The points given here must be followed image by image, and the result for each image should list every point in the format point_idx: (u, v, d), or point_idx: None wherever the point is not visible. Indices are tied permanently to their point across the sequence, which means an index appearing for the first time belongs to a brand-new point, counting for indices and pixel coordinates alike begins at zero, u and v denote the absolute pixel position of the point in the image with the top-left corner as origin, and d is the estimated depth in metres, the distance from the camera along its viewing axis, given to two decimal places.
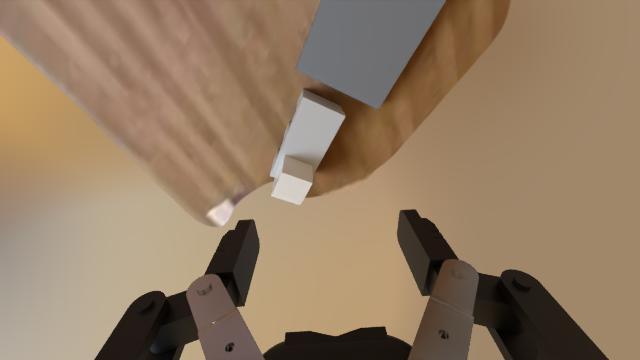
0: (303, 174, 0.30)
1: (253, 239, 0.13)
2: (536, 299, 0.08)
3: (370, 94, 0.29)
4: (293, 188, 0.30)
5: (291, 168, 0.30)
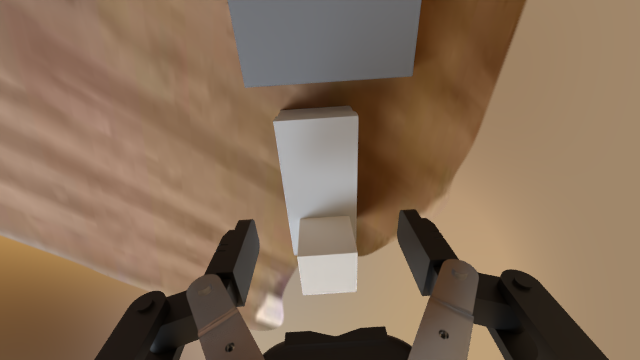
0: (336, 241, 0.17)
1: (253, 239, 0.13)
2: (536, 299, 0.08)
3: (384, 58, 0.15)
4: (330, 272, 0.17)
5: (313, 240, 0.17)
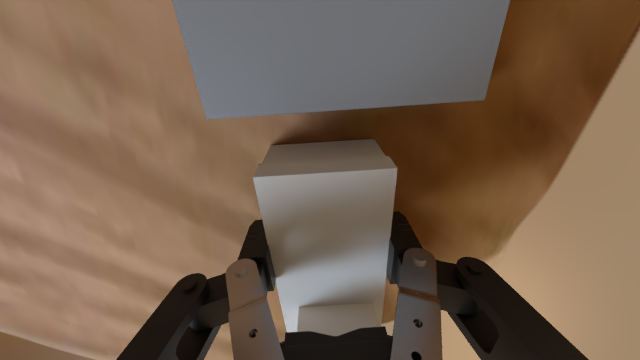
0: None
1: None
2: (489, 282, 0.08)
3: (441, 72, 0.09)
4: None
5: None
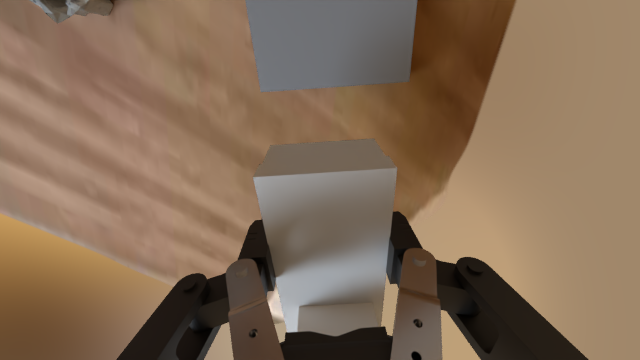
0: None
1: None
2: (489, 282, 0.08)
3: (384, 66, 0.17)
4: None
5: None
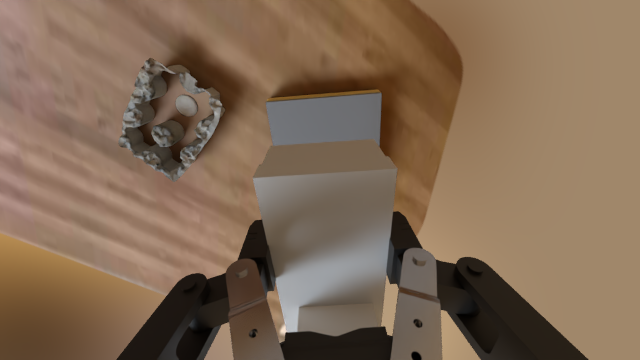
0: None
1: None
2: (488, 282, 0.08)
3: None
4: None
5: None
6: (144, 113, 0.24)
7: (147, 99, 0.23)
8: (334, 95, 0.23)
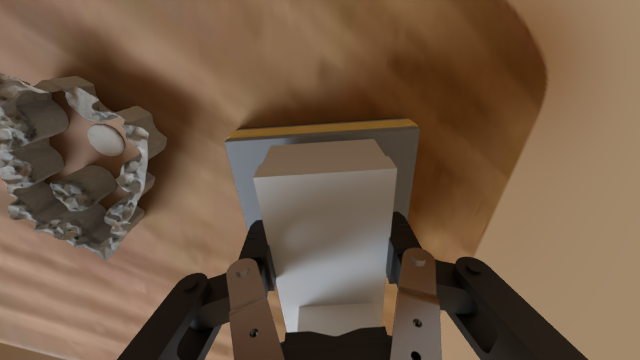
0: None
1: None
2: (488, 282, 0.08)
3: None
4: None
5: None
6: (35, 164, 0.15)
7: (24, 142, 0.13)
8: (340, 130, 0.14)
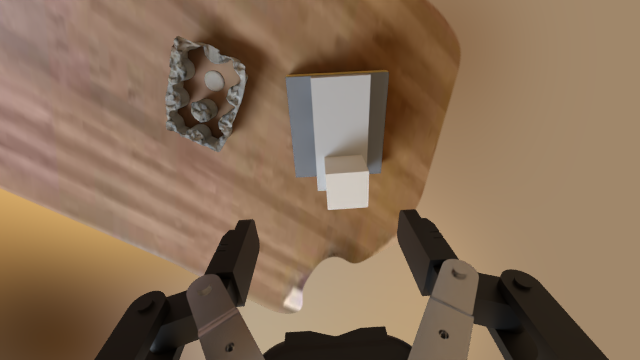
0: (352, 166, 0.23)
1: (253, 240, 0.13)
2: (536, 299, 0.08)
3: None
4: (348, 189, 0.23)
5: (336, 166, 0.23)
6: (181, 95, 0.27)
7: (181, 79, 0.26)
8: (346, 73, 0.26)
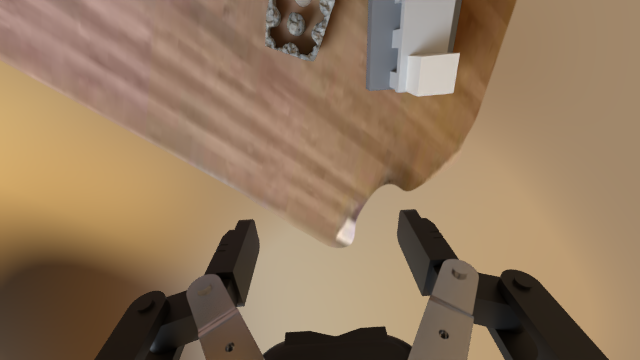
0: (441, 54, 0.26)
1: (253, 240, 0.13)
2: (536, 299, 0.08)
3: None
4: (439, 73, 0.26)
5: (426, 55, 0.26)
6: (278, 10, 0.30)
7: None
8: None
